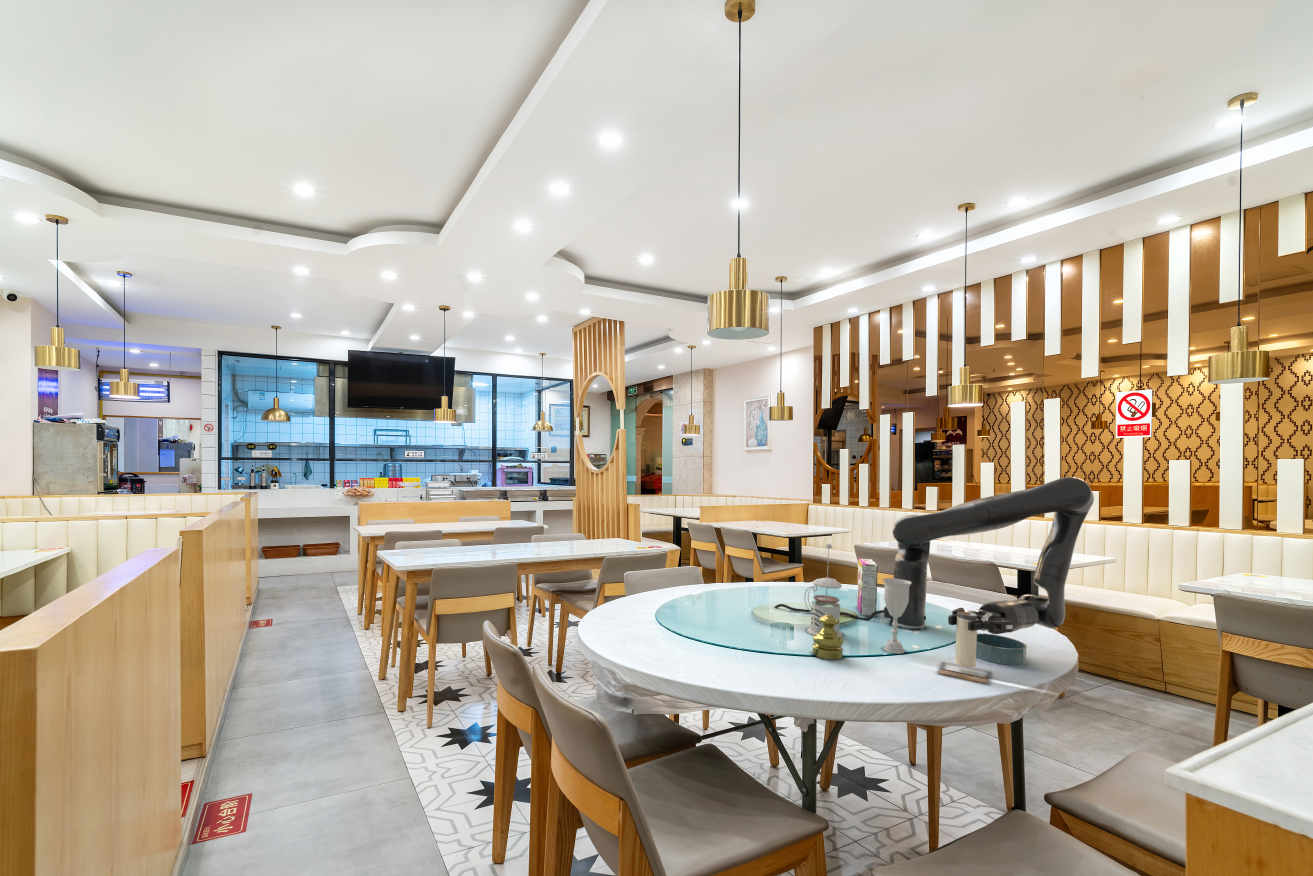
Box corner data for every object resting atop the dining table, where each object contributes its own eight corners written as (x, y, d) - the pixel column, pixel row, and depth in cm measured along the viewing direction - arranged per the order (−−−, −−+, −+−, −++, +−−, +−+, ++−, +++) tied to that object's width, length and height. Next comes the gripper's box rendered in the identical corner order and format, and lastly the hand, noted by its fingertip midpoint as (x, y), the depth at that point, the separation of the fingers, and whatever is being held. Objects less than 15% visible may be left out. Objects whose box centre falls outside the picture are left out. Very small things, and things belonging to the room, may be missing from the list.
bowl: (965, 659, 156) (966, 641, 156) (969, 647, 167) (970, 630, 167) (1025, 671, 149) (1026, 652, 149) (1025, 657, 160) (1026, 640, 161)
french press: (829, 640, 167) (834, 547, 167) (794, 629, 175) (798, 541, 176) (849, 634, 173) (853, 545, 174) (814, 624, 182) (818, 539, 182)
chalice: (894, 656, 156) (897, 584, 156) (873, 647, 162) (876, 579, 162) (914, 653, 159) (917, 583, 160) (893, 645, 165) (896, 577, 166)
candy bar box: (855, 607, 206) (857, 558, 206) (871, 608, 205) (873, 559, 205) (859, 615, 195) (862, 563, 195) (876, 617, 194) (878, 565, 194)
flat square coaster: (938, 674, 144) (938, 672, 144) (943, 662, 153) (943, 661, 153) (987, 684, 139) (987, 682, 139) (989, 672, 148) (989, 670, 148)
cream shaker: (954, 665, 145) (956, 613, 145) (956, 660, 149) (957, 610, 149) (975, 669, 143) (977, 617, 143) (976, 664, 147) (978, 613, 147)
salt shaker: (848, 656, 154) (849, 616, 154) (834, 662, 148) (836, 621, 148) (821, 648, 159) (822, 609, 159) (806, 654, 153) (808, 614, 153)
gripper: (976, 595, 159) (933, 600, 151) (1033, 608, 147) (989, 615, 138) (975, 624, 159) (932, 630, 151) (1031, 640, 147) (988, 648, 138)
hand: (959, 623), depth 145 cm, fingers closed on cream shaker, 4 cm apart
